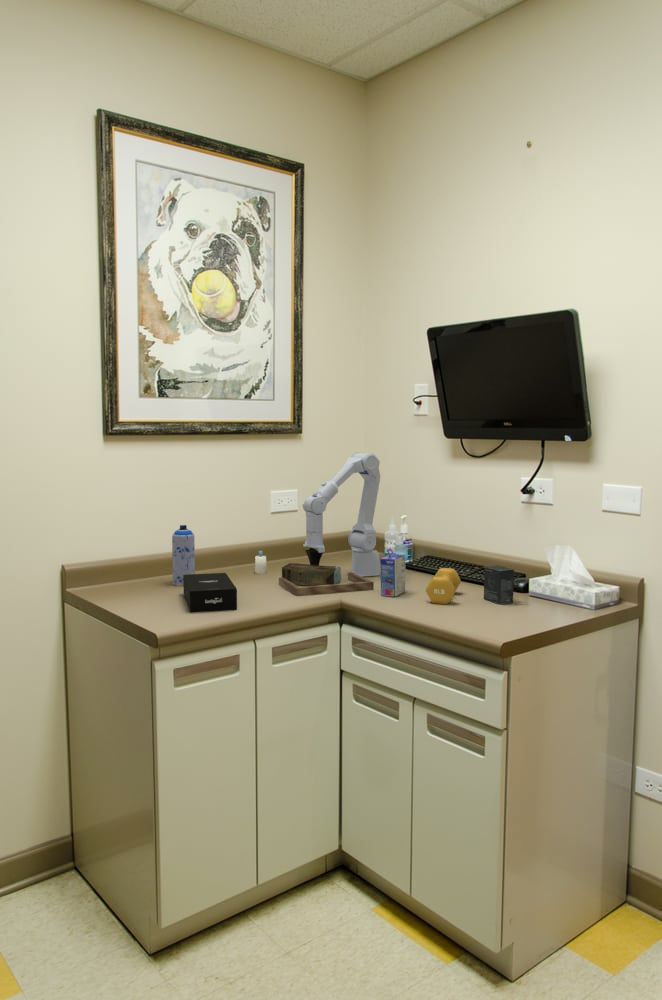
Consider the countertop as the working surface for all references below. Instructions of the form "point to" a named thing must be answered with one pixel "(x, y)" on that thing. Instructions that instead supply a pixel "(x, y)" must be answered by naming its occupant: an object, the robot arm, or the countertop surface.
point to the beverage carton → (311, 574)
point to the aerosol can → (182, 554)
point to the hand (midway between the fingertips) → (314, 570)
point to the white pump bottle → (260, 563)
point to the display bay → (329, 586)
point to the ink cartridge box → (392, 574)
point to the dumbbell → (443, 586)
